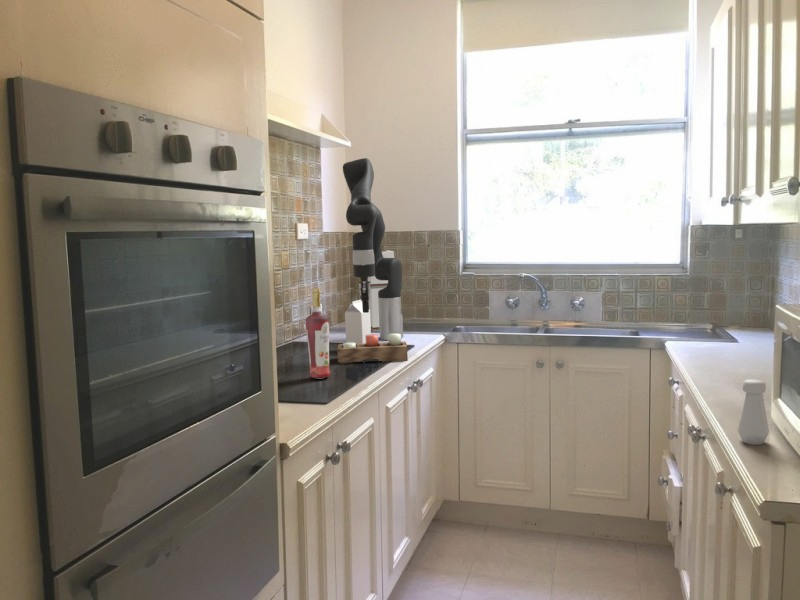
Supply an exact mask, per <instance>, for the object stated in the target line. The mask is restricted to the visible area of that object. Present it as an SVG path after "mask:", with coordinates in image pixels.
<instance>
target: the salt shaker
mask: <svg viewBox="0 0 800 600" xmlns="http://www.w3.org/2000/svg"><path fill="white" fill-rule="evenodd" d="M741 385H742V391H743V392H745V395H744V399H743V404H742V409H741V412H740V417H739V421H738V424H737V433H738V435H739V437H740V439H741V440H742V443H745V444H748V445H754V446H757V445H763V444H764V443H765V442H766V439H767V437H768V436H769V433H770V428H769V424H768V417H767V412H766V405H765V399H764V393H766V391H767V385H766V383H765V382H764V381H763V380H760V379H754V378H753V379H745V380H743V382H742V384H741Z"/></svg>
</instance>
